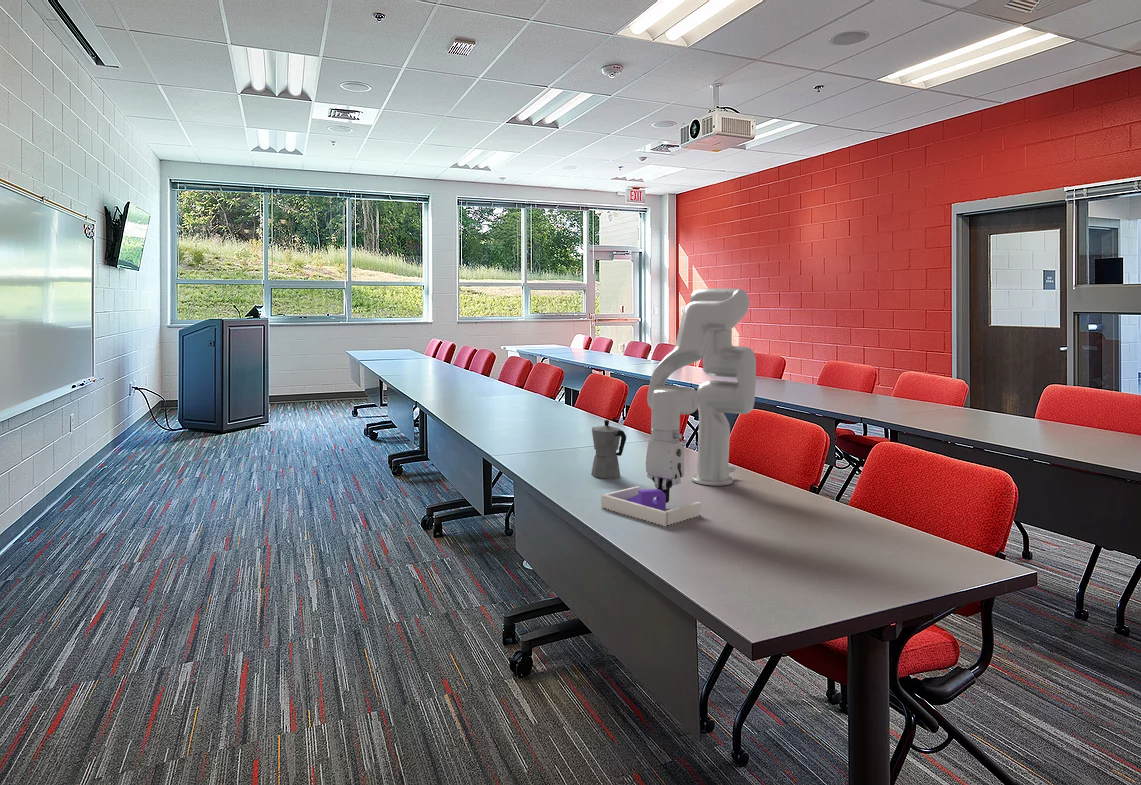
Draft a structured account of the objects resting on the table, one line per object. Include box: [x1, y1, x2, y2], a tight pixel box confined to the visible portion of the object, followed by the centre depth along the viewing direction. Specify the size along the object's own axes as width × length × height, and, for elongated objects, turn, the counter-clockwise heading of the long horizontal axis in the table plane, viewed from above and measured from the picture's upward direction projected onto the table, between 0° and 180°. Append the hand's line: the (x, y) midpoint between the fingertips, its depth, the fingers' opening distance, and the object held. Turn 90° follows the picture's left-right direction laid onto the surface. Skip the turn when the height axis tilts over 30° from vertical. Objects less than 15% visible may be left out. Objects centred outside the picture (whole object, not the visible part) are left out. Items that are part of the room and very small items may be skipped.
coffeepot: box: [591, 419, 627, 479], centre depth 224 cm, size 15×9×18 cm, turn 39°
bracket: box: [626, 488, 667, 511], centre depth 188 cm, size 12×7×7 cm, turn 15°
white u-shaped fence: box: [600, 485, 702, 527], centre depth 186 cm, size 14×22×4 cm, turn 43°
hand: (662, 502), depth 189 cm, fingers closed
